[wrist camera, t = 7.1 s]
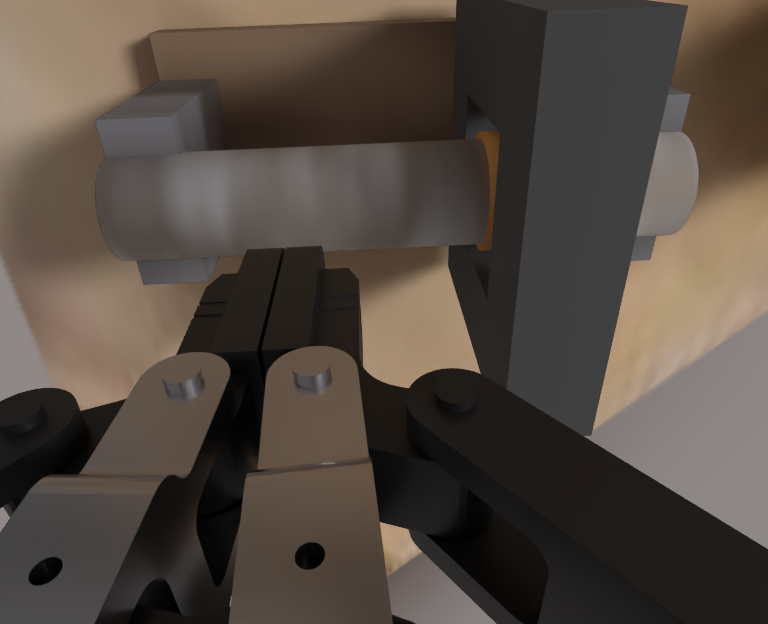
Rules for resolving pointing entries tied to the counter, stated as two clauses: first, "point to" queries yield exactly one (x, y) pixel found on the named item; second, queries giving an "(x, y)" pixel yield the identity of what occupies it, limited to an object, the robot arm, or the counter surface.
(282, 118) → the pipe stand
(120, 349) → the counter surface
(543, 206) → the collar
